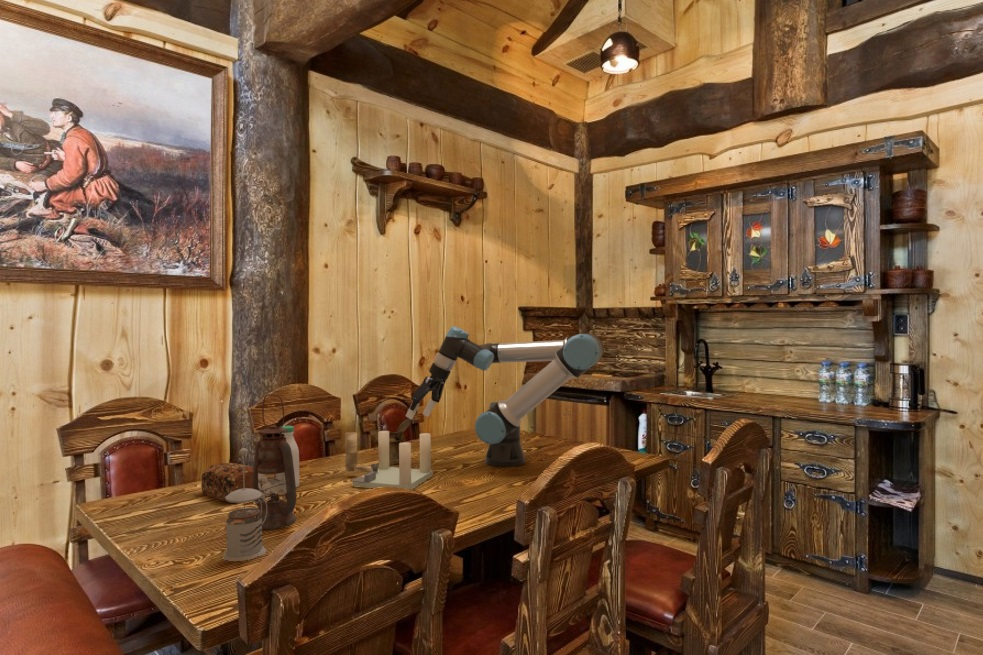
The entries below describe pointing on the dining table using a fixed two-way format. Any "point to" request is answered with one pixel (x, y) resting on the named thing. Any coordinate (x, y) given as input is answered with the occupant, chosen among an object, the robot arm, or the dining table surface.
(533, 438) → the dining table surface
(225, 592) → the dining table surface
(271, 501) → the lantern
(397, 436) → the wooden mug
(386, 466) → the stool top
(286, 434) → the milk bottle
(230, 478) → the bread
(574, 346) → the robot arm
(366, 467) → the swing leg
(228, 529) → the french press
